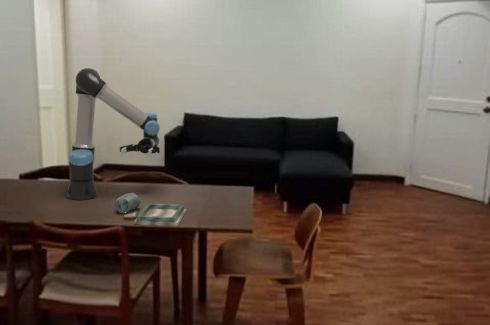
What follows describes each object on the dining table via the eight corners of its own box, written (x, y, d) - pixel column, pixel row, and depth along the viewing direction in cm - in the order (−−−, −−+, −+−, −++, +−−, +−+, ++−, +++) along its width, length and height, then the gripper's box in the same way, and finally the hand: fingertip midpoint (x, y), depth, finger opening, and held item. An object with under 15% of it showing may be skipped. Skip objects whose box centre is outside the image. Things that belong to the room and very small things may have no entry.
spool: (128, 209, 248) (123, 189, 250) (112, 216, 252) (107, 196, 254) (147, 209, 260) (142, 190, 262) (132, 216, 264) (127, 196, 266)
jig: (134, 224, 238) (133, 216, 237) (146, 210, 260) (146, 203, 259) (177, 226, 237) (177, 218, 236) (186, 211, 258) (186, 204, 258)
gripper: (169, 152, 288) (160, 160, 267) (123, 151, 290) (110, 159, 269) (169, 138, 287) (160, 145, 266) (122, 137, 288) (110, 144, 267)
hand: (135, 152), depth 267 cm, fingers open, 13 cm apart
